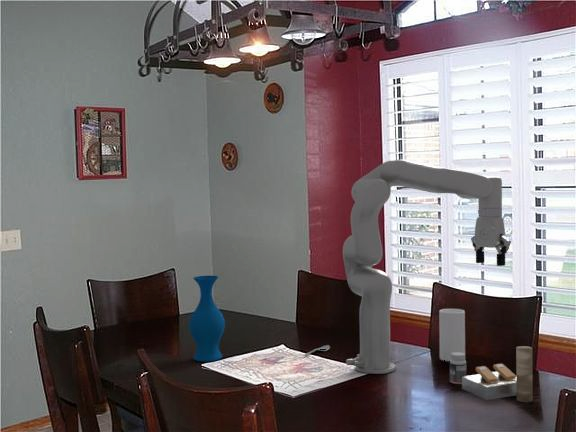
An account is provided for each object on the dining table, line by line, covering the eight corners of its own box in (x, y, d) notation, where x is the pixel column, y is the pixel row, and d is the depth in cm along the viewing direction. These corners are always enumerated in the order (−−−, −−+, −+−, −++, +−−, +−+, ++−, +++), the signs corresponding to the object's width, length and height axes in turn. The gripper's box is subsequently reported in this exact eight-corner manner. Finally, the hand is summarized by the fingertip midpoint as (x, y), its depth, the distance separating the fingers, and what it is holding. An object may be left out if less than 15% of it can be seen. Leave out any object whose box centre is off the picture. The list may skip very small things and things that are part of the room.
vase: (232, 355, 230) (230, 275, 229) (213, 365, 218) (211, 280, 217) (202, 352, 235) (200, 274, 234) (182, 361, 223) (180, 279, 222)
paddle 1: (488, 382, 180) (489, 379, 180) (475, 370, 186) (476, 366, 185) (497, 381, 181) (498, 378, 181) (484, 368, 187) (484, 365, 186)
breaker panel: (487, 400, 177) (487, 383, 177) (462, 388, 187) (461, 373, 187) (528, 393, 182) (528, 377, 182) (502, 382, 193) (502, 367, 192)
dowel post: (523, 403, 174) (523, 350, 174) (513, 398, 178) (513, 347, 177) (535, 401, 176) (535, 348, 175) (525, 396, 179) (525, 345, 179)
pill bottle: (447, 379, 196) (447, 352, 196) (463, 379, 197) (462, 351, 196) (452, 384, 192) (452, 356, 191) (468, 383, 192) (468, 355, 192)
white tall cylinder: (465, 362, 215) (465, 313, 215) (440, 361, 217) (439, 312, 216) (464, 355, 223) (464, 308, 223) (439, 355, 225) (438, 308, 224)
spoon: (333, 350, 236) (333, 345, 236) (296, 362, 220) (296, 357, 220) (323, 348, 239) (323, 344, 239) (287, 361, 223) (287, 356, 223)
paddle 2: (506, 379, 183) (507, 376, 182) (492, 367, 188) (493, 364, 187) (515, 378, 184) (515, 375, 183) (501, 366, 189) (502, 363, 188)
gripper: (463, 213, 228) (464, 262, 228) (500, 214, 212) (500, 267, 213) (480, 212, 231) (480, 261, 232) (518, 213, 216) (518, 266, 216)
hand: (490, 264), depth 222 cm, fingers open, 9 cm apart
